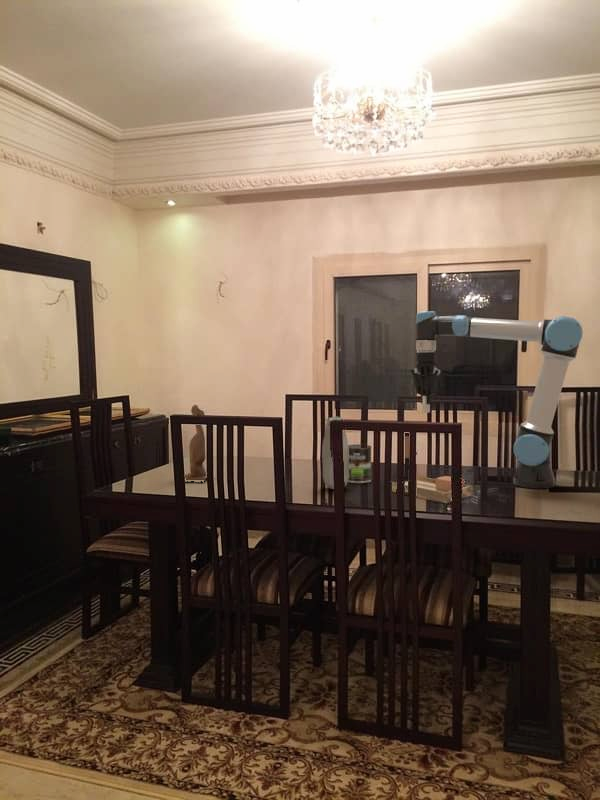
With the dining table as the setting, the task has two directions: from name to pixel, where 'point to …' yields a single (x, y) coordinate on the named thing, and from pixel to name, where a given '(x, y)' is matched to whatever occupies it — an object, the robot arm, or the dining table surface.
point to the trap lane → (433, 490)
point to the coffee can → (359, 464)
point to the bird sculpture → (197, 451)
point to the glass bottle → (328, 459)
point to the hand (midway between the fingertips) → (426, 412)
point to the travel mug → (407, 454)
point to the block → (445, 483)
